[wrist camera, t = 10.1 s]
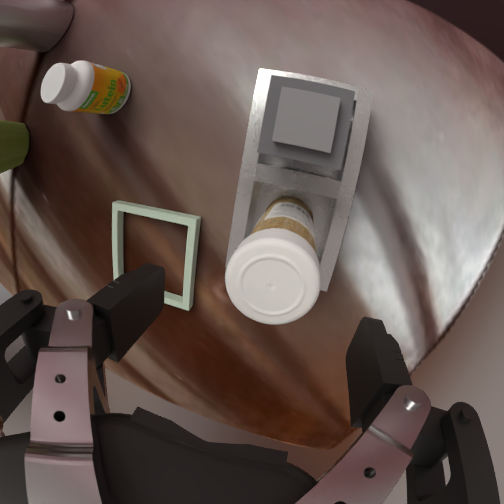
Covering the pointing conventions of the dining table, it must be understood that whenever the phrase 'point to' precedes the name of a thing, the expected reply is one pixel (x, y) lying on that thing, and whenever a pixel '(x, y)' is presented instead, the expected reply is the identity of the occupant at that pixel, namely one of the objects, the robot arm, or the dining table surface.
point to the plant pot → (12, 144)
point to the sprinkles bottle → (276, 265)
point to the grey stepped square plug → (306, 121)
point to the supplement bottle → (85, 87)
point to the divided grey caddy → (300, 177)
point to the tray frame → (166, 215)
